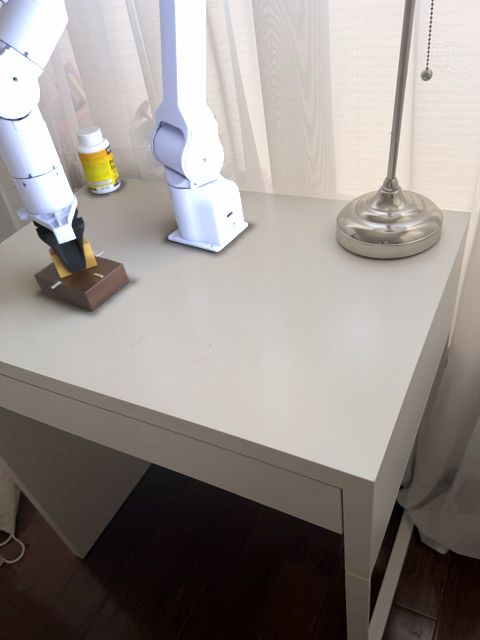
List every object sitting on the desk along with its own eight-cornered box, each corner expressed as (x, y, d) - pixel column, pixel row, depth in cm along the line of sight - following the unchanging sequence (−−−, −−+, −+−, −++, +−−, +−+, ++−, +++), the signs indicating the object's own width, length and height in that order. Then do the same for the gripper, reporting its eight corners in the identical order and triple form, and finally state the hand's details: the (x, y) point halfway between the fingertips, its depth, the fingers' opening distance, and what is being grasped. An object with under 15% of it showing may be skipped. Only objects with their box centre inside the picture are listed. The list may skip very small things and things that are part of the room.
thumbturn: (94, 260, 73) (85, 235, 71) (97, 265, 72) (88, 241, 70) (58, 272, 72) (47, 248, 70) (60, 278, 71) (49, 254, 68)
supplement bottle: (122, 191, 96) (105, 132, 89) (91, 197, 95) (71, 139, 88) (120, 178, 100) (103, 122, 93) (90, 185, 99) (71, 128, 92)
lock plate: (134, 277, 75) (128, 258, 72) (86, 316, 69) (78, 296, 67) (85, 262, 79) (77, 243, 77) (36, 297, 74) (26, 278, 72)
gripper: (-6, 158, 67) (38, 252, 76) (8, 202, 57) (57, 304, 66) (50, 141, 69) (87, 235, 78) (74, 181, 59) (112, 284, 68)
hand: (76, 266), depth 72 cm, fingers closed on thumbturn, 2 cm apart
